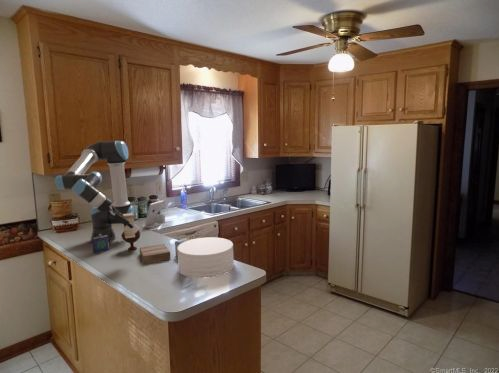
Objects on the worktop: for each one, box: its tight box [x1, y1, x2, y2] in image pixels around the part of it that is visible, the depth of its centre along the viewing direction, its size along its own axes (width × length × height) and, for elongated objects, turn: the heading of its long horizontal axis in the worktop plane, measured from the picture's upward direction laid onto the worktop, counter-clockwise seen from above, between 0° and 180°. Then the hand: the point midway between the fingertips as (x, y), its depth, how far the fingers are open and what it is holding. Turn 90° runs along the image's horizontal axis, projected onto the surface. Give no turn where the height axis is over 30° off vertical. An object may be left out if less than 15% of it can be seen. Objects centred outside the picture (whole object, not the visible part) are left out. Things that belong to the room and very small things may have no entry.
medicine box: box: [174, 237, 191, 258], centre depth 193 cm, size 8×4×9 cm, turn 141°
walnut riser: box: [139, 243, 171, 264], centre depth 192 cm, size 16×14×4 cm
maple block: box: [123, 213, 135, 238], centre depth 183 cm, size 5×5×12 cm
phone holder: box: [141, 200, 166, 229], centre depth 261 cm, size 17×10×18 cm, turn 155°
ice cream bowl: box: [121, 229, 141, 252], centre depth 205 cm, size 11×11×15 cm
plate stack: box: [177, 236, 235, 279], centre depth 175 cm, size 28×28×12 cm
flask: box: [91, 234, 110, 254], centre depth 203 cm, size 9×3×11 cm, turn 138°
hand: (136, 229), depth 185 cm, fingers closed on maple block, 5 cm apart
